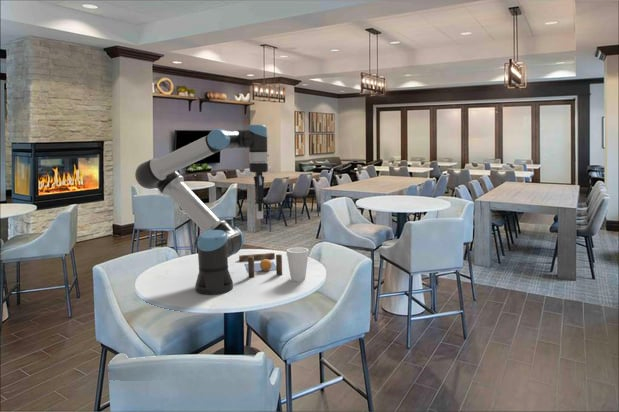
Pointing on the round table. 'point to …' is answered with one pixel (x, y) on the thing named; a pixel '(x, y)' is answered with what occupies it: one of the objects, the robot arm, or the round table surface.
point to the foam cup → (297, 263)
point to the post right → (278, 264)
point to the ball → (265, 264)
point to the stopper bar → (257, 256)
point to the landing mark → (258, 269)
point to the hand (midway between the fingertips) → (259, 218)
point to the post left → (251, 266)
